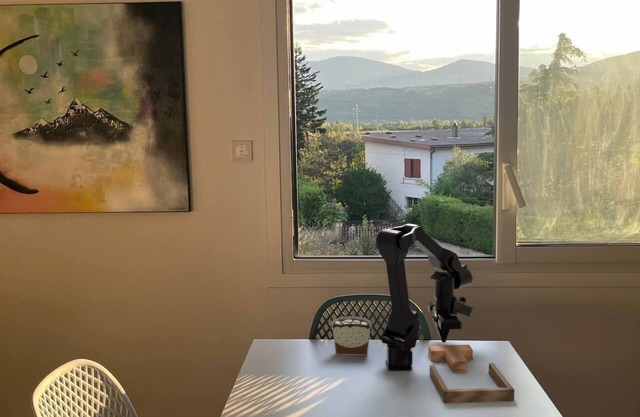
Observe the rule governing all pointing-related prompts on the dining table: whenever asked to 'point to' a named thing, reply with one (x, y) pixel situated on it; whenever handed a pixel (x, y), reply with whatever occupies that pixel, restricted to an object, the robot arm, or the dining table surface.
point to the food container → (351, 335)
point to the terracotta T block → (452, 355)
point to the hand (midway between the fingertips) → (443, 341)
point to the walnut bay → (475, 395)
